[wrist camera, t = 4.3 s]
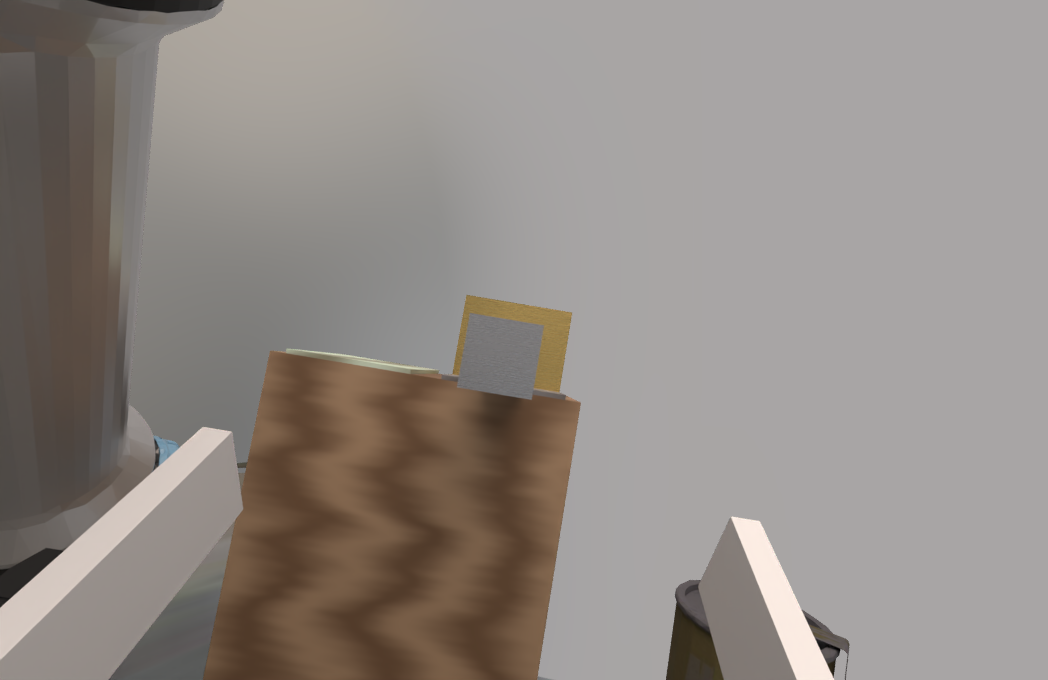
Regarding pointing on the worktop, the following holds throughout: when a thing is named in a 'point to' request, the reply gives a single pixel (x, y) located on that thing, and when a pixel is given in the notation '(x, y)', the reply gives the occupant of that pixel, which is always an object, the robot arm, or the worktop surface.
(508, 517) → the wood grain box
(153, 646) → the worktop surface
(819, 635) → the canister
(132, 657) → the worktop surface
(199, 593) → the worktop surface
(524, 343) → the handle bar
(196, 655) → the worktop surface
